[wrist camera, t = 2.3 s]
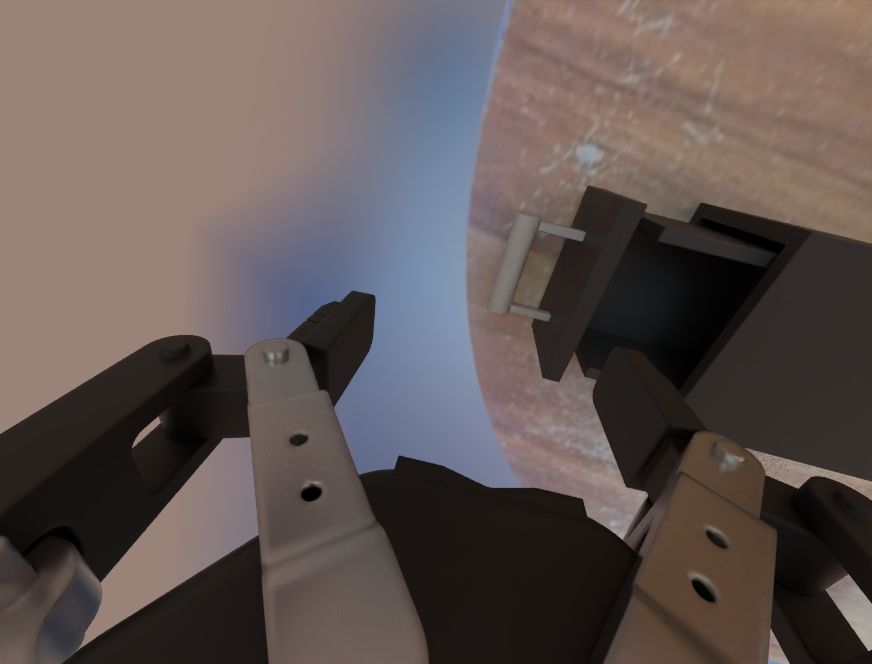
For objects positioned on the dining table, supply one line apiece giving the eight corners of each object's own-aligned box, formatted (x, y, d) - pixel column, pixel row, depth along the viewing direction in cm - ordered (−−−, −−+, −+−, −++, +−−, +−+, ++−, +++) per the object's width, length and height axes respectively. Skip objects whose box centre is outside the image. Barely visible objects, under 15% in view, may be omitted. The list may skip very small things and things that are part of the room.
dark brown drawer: (480, 312, 30) (475, 360, 23) (524, 169, 24) (535, 177, 17) (684, 365, 29) (743, 431, 22) (780, 231, 23) (899, 265, 16)
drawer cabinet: (616, 349, 30) (664, 426, 22) (700, 202, 24) (813, 230, 16) (780, 391, 30) (894, 488, 21) (910, 253, 24) (1147, 311, 15)
